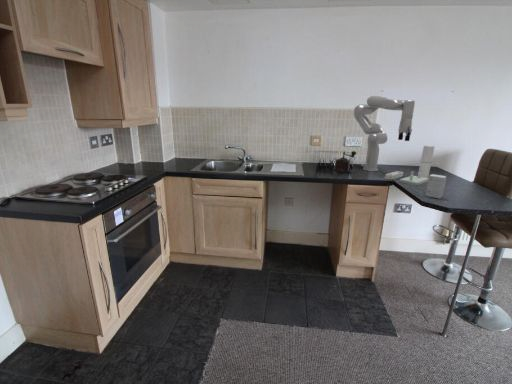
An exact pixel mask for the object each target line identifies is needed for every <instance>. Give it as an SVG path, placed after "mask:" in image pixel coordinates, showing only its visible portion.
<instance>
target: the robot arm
mask: <svg viewBox="0 0 512 384" xmlns="http://www.w3.org/2000/svg"><path fill="white" fill-rule="evenodd" d="M379 109H383V110H389V111H401V117H400V122H399V126H398V137H397V139H398V141H402V140H403V139H404V142H409V141H410V138H411V134H412V132H413V129H412V125H413V117H414V110H415V100H414V99H390V98H387V97H385V96H384V97H383V96H377V95H376V96H375V95H372V96H369V97H368V98H367V100H366V104H357V105H356V106H355V107H354V108H353V116H354V117H353V118H355V120H356V122H357V123H358V125H359V126H360V128H361V129H362V130H363V131H362V132H364V134H365V135H368V136H367V149H366V150H367V151H366V155H365V156H366V157H365V163H361V165H360V166H361V167H363V168H362V170H364V171H368V172H378V171H379V168H378V160H379V154H380V146H379V145H383V144H384V145H385V144H386V143H387V141H388V134H387V133H386V132H385V130H384V128H383V127H382V125H380V124H379V123H375V122H371V120H370V119H369V118H368V116H366V115H372V114H373V113H375V112H376V111H377V110H379ZM404 133H405V136H404Z"/></svg>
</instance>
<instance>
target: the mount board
mask: <svg viewBox="0 0 512 384" xmlns="http://www.w3.org/2000/svg"><path fill="white" fill-rule="evenodd" d="M421 171H422V170H421V169H419V168H418V172H417V175H414V173H415V171H410V175H409V176H406V177H403V178H400V179H399V183H403V184H408V185H412V186H420V185H423V184H425V183H428V180H429V177H428V178H424V177H420V174H421Z"/></svg>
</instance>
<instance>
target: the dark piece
mask: <svg viewBox="0 0 512 384" xmlns="http://www.w3.org/2000/svg"><path fill="white" fill-rule="evenodd" d="M355 155H357V151H355V150H353V151H351V154H347V153H346V151H343V155H342V157H340V158H337V159H336V160H335V166H334V167H335V169H334V172H339V173H348V172H350V165H351V160H350V159H347V158H346V157H345V156H348V157H351V158H355Z"/></svg>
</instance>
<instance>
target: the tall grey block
mask: <svg viewBox="0 0 512 384" xmlns="http://www.w3.org/2000/svg"><path fill="white" fill-rule="evenodd" d="M435 147H436V146H435V145H429V144H423V149H422V153H421V159H420V164H419V168H418V170H419V169H421V170H422V171H421V174H420V177H424V178H429V176H430V170H431V167H432V163H433V155H434V152H435Z"/></svg>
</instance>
